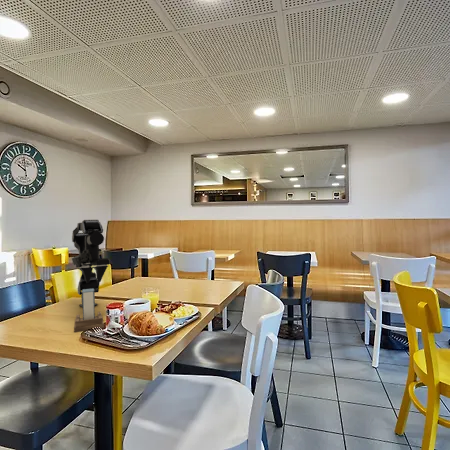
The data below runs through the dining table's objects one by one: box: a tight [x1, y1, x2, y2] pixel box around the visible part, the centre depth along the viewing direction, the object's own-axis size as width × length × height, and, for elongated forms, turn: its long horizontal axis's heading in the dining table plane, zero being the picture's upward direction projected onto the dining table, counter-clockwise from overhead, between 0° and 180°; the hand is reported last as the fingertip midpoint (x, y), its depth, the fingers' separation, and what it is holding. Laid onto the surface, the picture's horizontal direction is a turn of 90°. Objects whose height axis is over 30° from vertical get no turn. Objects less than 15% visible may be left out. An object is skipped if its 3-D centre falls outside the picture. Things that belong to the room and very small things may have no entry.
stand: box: [73, 311, 105, 333], centre depth 119 cm, size 12×10×4 cm
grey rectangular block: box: [81, 288, 96, 320], centre depth 119 cm, size 5×4×12 cm
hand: (93, 282), depth 136 cm, fingers open, 9 cm apart
